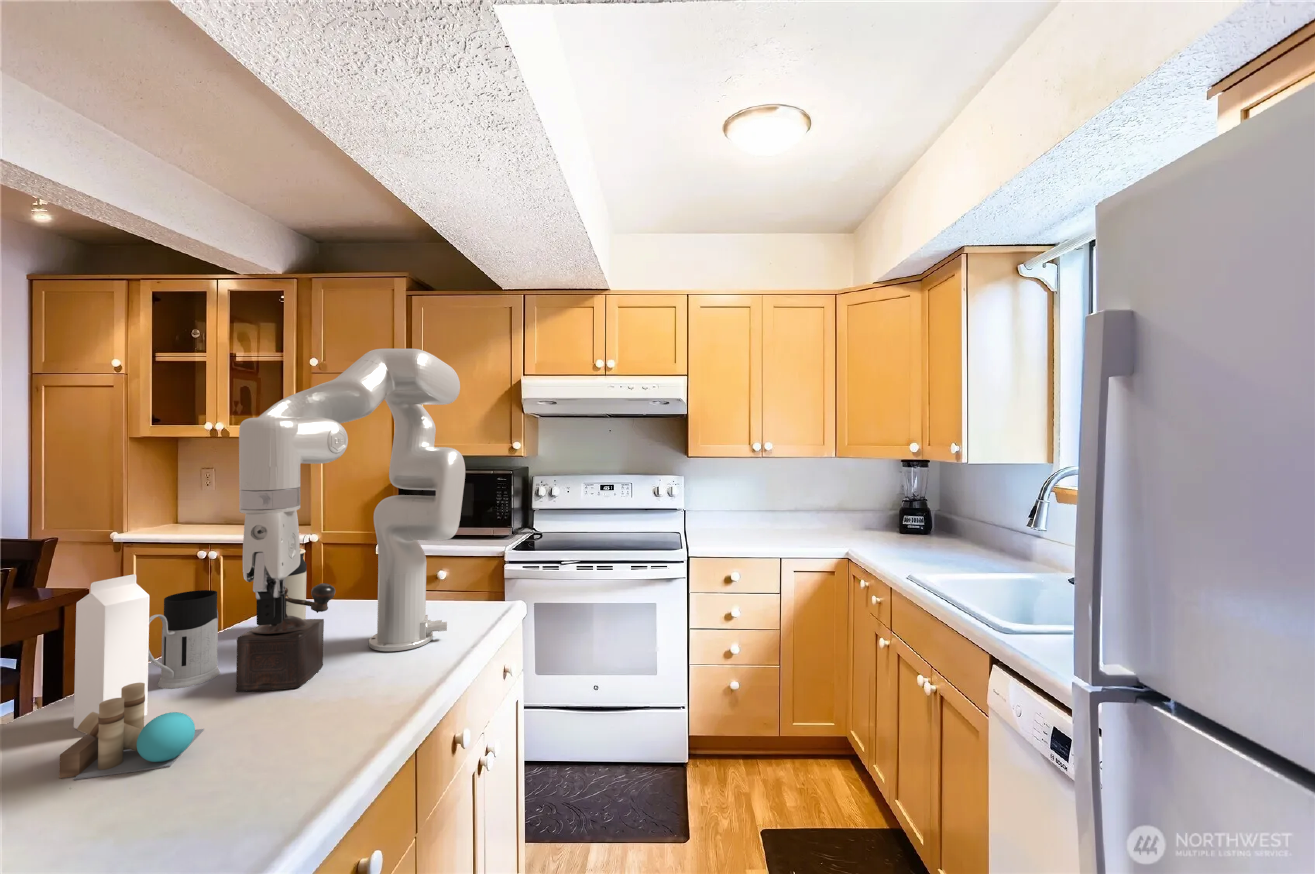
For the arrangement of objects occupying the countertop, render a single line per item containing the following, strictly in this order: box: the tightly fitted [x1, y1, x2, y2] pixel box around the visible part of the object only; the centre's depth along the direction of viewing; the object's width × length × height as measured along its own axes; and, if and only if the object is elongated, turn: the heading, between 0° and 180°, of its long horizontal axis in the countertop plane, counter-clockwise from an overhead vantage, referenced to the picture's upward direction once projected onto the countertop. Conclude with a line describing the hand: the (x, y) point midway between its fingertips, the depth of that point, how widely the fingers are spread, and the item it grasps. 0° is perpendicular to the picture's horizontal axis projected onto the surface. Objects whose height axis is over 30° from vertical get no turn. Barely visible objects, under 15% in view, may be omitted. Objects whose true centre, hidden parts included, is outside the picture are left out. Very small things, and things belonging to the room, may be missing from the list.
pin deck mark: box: [73, 728, 205, 781], centre depth 78 cm, size 10×10×1 cm
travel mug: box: [285, 548, 307, 619], centre depth 128 cm, size 8×8×18 cm
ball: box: [137, 711, 196, 762], centre depth 77 cm, size 6×6×6 cm
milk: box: [73, 573, 150, 730], centre depth 87 cm, size 6×6×22 cm
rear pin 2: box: [121, 683, 145, 750], centre depth 80 cm, size 2×2×8 cm
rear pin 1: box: [98, 698, 125, 770], centre depth 75 cm, size 2×2×8 cm
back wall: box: [58, 733, 98, 779], centre depth 77 cm, size 2×9×3 cm, turn 18°
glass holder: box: [148, 589, 221, 690], centre depth 100 cm, size 9×14×15 cm, turn 2°
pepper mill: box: [235, 582, 336, 693], centre depth 103 cm, size 16×11×18 cm
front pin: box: [76, 712, 142, 752], centre depth 77 cm, size 2×2×8 cm
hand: (271, 622), depth 84 cm, fingers closed
